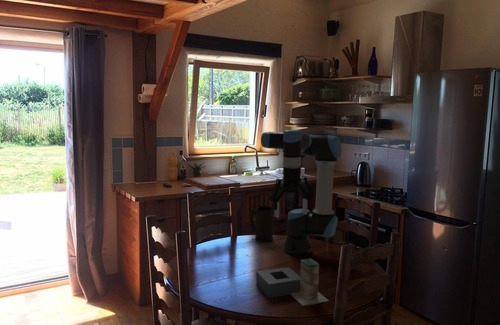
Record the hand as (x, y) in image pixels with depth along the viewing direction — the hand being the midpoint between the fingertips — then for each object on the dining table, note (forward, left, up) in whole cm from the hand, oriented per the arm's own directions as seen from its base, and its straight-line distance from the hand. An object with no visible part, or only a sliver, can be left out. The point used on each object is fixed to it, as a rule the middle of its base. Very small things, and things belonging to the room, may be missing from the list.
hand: (290, 215), depth 176 cm
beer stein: (-14, -66, -33) cm, 75 cm away
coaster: (-4, +11, -33) cm, 35 cm away
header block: (+4, -1, -33) cm, 33 cm away
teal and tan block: (-4, +11, -32) cm, 34 cm away
